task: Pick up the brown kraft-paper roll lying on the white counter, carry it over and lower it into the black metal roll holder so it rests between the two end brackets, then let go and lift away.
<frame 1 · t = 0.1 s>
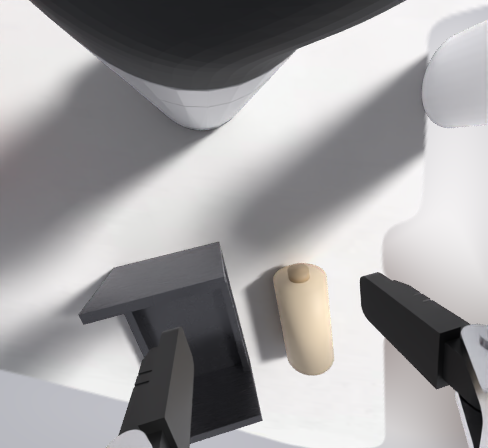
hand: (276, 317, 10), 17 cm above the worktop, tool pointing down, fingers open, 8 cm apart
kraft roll: (296, 302, 32), on the worktop
cylinder container: (458, 82, 26), on the worktop
roll holder: (190, 320, 30), on the worktop
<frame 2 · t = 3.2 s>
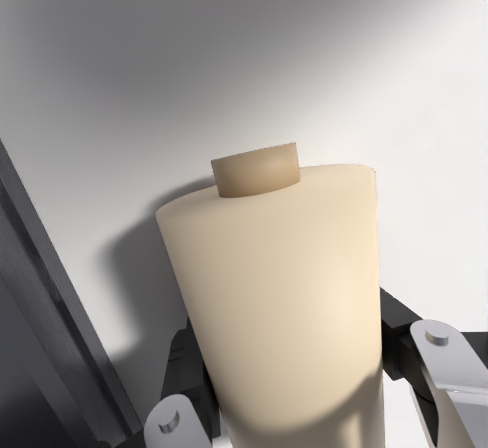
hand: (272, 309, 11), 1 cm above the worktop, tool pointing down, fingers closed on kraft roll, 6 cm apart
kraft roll: (271, 297, 12), on the worktop, touching gripper
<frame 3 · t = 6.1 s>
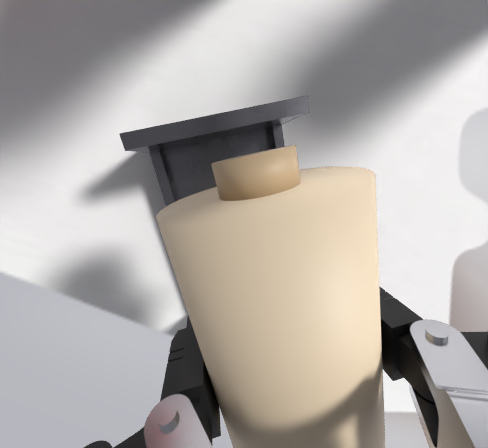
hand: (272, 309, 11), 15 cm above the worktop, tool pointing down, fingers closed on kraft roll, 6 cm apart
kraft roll: (272, 298, 12), point 14 cm above the worktop, touching gripper
roll holder: (235, 222, 25), on the worktop
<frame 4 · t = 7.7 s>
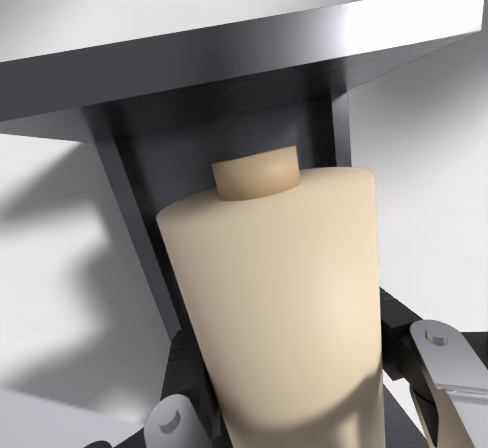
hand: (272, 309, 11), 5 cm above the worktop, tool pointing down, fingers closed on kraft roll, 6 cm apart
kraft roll: (272, 299, 12), point 4 cm above the worktop, touching gripper
roll holder: (252, 260, 15), on the worktop
when the fingers open (3 cm above the worktop, at t = 9.1 s): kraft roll drops 1 cm, resting on roll holder.
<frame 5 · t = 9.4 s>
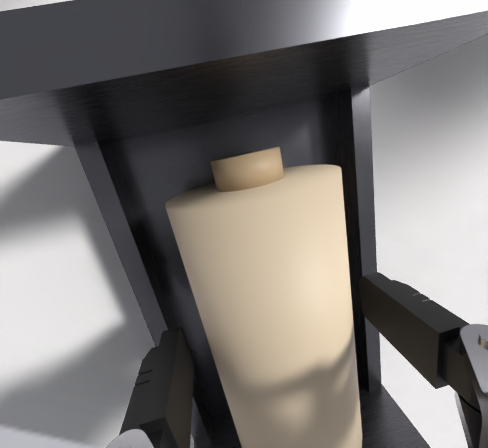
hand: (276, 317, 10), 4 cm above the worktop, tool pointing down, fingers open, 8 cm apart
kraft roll: (265, 283, 13), point 1 cm above the worktop, touching roll holder
roll holder: (258, 276, 14), on the worktop
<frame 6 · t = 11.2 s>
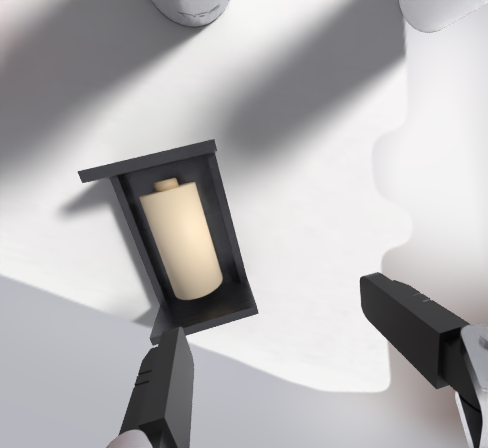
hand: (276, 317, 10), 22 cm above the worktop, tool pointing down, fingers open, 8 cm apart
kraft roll: (188, 231, 30), point 1 cm above the worktop, touching roll holder
roll holder: (187, 230, 31), on the worktop
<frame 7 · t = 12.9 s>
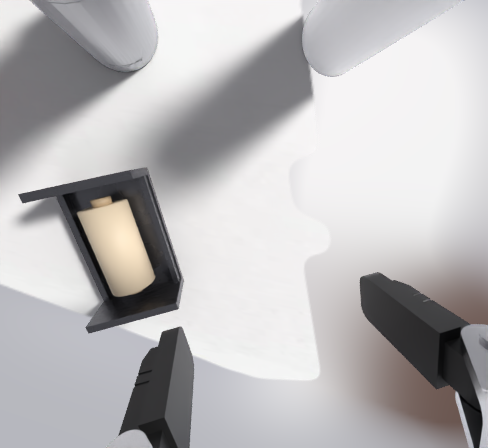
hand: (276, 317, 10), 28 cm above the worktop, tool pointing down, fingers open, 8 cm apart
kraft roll: (127, 239, 35), point 1 cm above the worktop, touching roll holder
cylinder container: (333, 39, 33), on the worktop
roll holder: (128, 237, 36), on the worktop
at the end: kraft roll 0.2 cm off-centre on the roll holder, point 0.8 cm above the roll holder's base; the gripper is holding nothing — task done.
